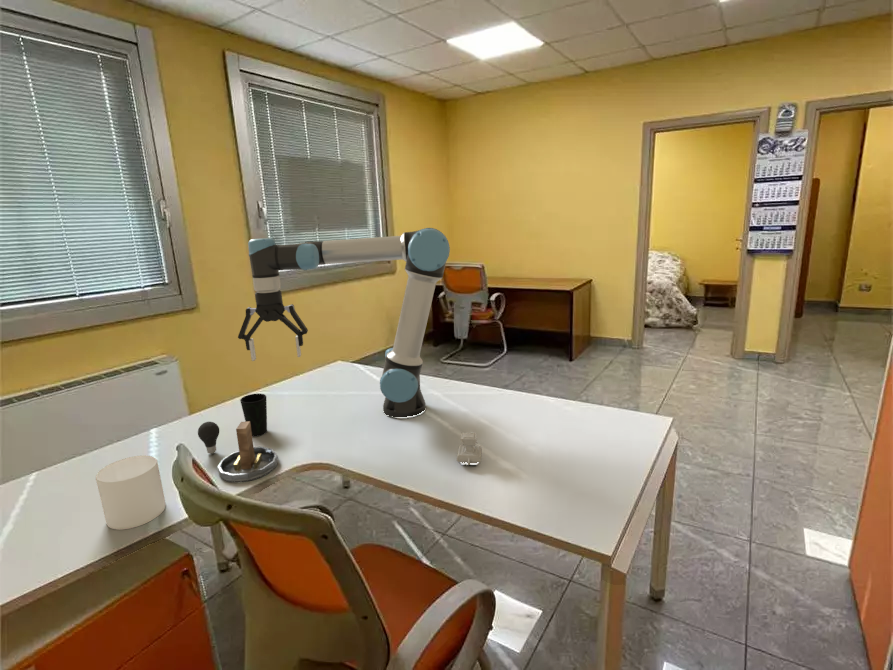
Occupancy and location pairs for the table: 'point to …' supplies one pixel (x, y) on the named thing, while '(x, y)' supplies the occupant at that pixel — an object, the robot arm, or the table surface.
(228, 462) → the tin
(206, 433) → the light bulb
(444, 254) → the robot arm
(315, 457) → the table surface
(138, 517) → the cup
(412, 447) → the table surface
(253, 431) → the cup
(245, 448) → the tapered wood plank
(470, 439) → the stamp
